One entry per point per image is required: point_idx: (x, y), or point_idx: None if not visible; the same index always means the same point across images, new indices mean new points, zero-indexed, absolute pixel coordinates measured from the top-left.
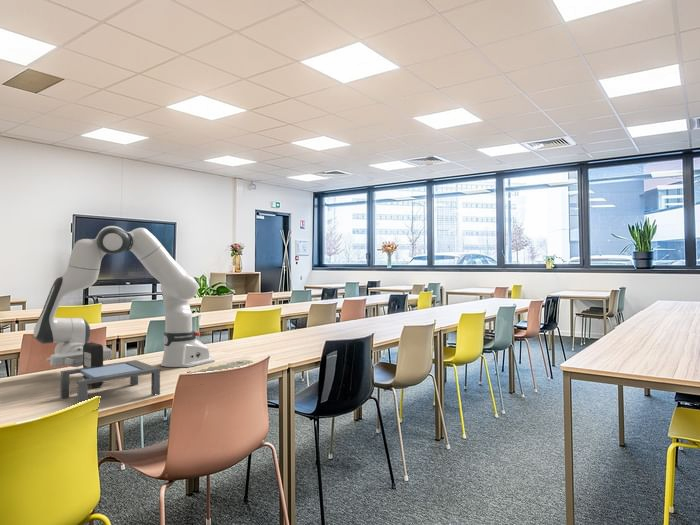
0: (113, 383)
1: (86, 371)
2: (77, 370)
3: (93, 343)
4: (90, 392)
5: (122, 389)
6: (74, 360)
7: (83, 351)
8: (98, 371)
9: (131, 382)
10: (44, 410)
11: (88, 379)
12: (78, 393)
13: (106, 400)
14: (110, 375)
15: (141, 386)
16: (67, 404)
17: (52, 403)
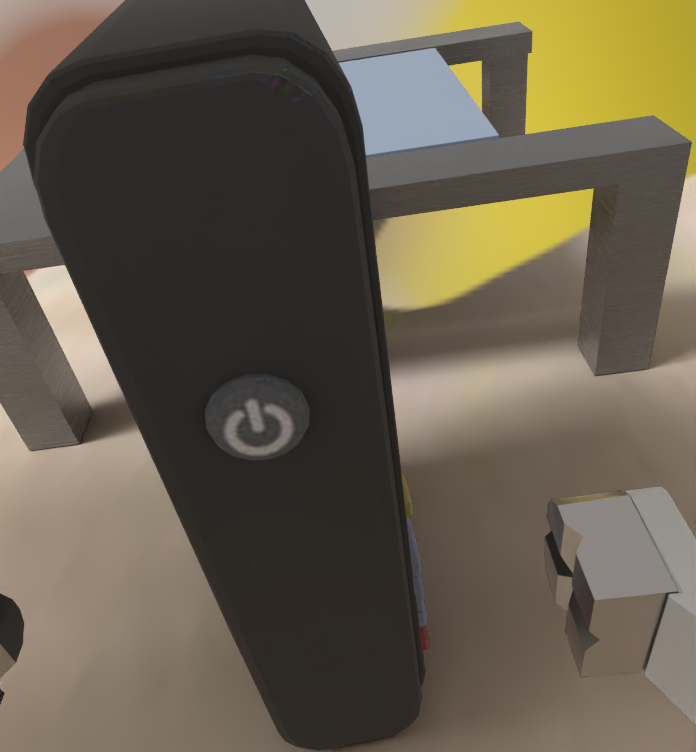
0: (139, 560)
1: (458, 106)
2: (525, 136)
3: (162, 6)
4: (416, 384)
5: None
6: (578, 500)
7: (374, 254)
8: (382, 97)
9: (78, 406)
10: (691, 210)
11: (473, 34)
12: (523, 100)
13: (375, 233)
14: (353, 55)
15: (77, 364)
16: (576, 242)
17: (676, 279)
